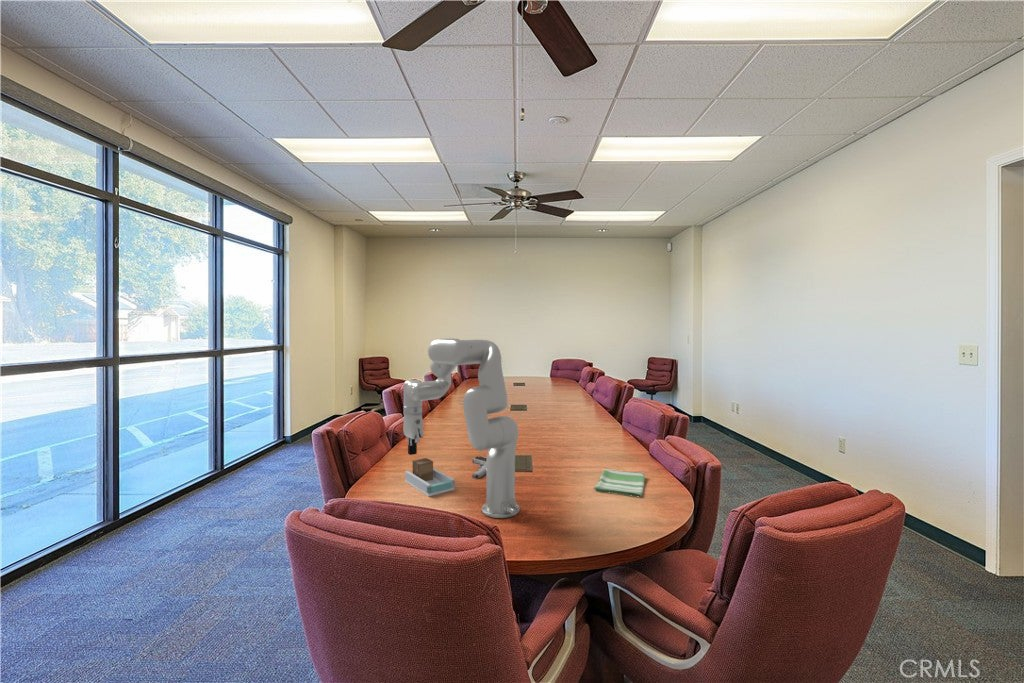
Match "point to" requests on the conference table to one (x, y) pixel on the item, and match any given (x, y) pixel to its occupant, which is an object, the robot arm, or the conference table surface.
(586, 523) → the conference table surface
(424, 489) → the bay
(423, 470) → the block
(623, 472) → the dish towel
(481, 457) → the pistol
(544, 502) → the conference table surface
